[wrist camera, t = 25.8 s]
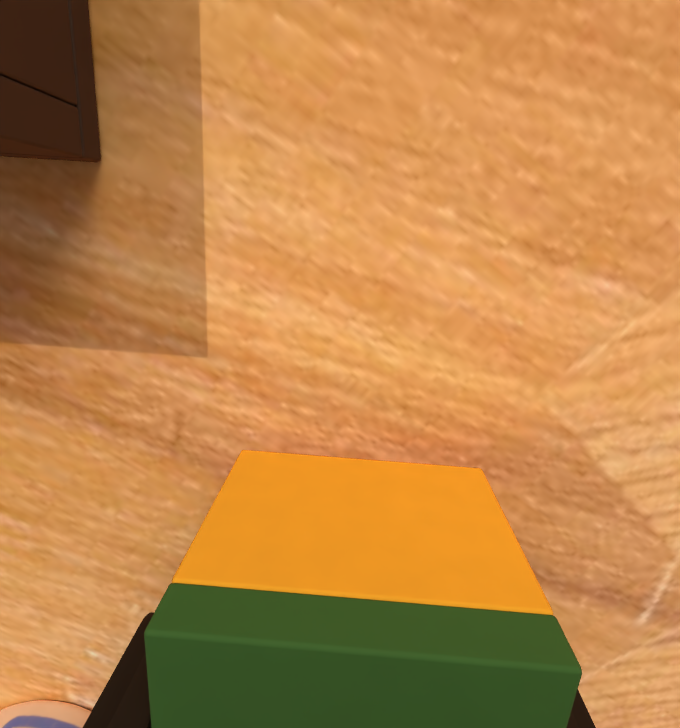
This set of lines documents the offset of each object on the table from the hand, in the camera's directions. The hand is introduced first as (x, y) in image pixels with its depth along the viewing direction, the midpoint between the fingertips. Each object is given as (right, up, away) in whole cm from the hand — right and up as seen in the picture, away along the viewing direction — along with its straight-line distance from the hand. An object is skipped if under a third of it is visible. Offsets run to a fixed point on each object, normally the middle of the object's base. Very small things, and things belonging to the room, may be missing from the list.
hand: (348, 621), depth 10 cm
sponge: (0, 0, +1) cm, 1 cm away
